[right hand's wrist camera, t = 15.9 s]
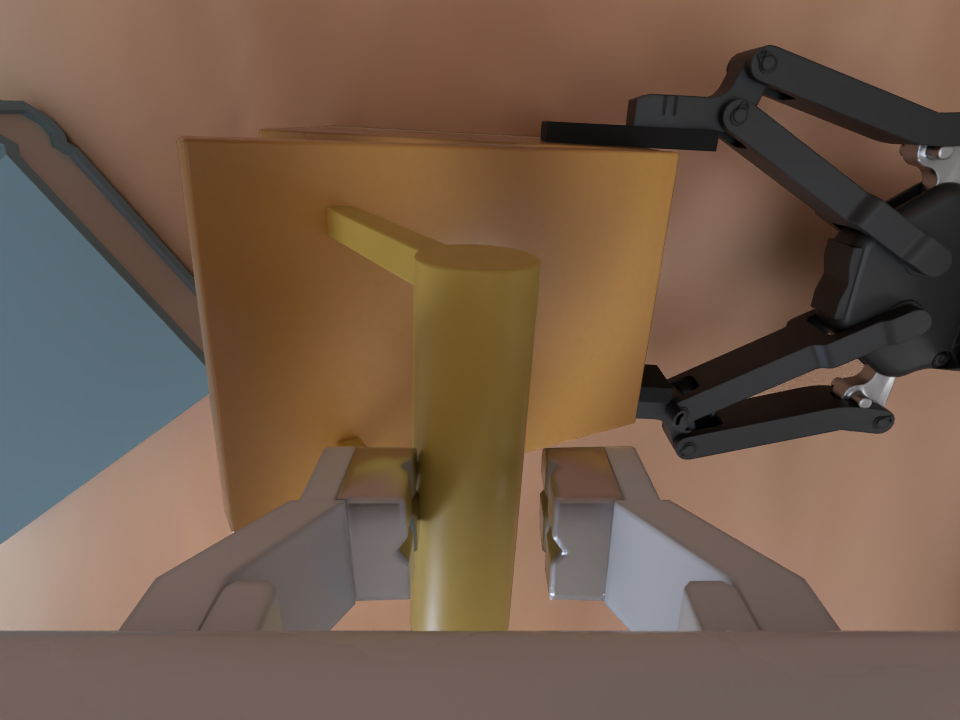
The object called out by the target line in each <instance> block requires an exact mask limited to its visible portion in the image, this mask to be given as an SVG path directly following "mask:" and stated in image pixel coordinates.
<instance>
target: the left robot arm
mask: <svg viewBox="0 0 960 720" xmlns="http://www.w3.org/2000/svg"><path fill="white" fill-rule="evenodd" d="M726 71H727V74H726V76H725V78H724V80H723V82H722V84H721V86H720V87H719V89H718V90H717V91H716V92H715V93H714V94H712V95H711V96H709V97H699V96H680V95H661V94H648V95H642V96H639V97H636V98H634V99H631V100H629V104H628V112H627V120H626V125H607V124H588V123H568V122H549V121H542V127H541V140H542V141H544V142H551V143H570V144H588V145H607V146H625V147H643V148H661V149H680V150H699V151H716V148H717V143H718V138H719V139H721V140H722V141H723V142H725V143H726V144H727V145H728V146H730V147H731V148H732V149H734V150H735V151H736V152H738V153H739V154H740V155H742V156H743V157H744V158H746V159H747V160H748V161H750V162H751V163H752V164H754V165H755V166H756V167H758V168H759V169H760V170H762V171H763V172H764V173H766V174H767V175H768V176H770V177H771V178H772V179H774V180H775V181H776V182H778V183H779V184H780V185H782V186H783V187H784V188H786V189H787V190H788V191H790V192H791V193H792V194H794V195H795V196H796V197H798V198H799V199H800V200H801V201H803V202H804V203H805V204H807V205H808V206H809V207H811V208H812V209H813V210H814V211H815V213H816V214H817V215H818V216H819V217H820V218H822V219H823V220H824V221H826V222H827V223H828V224H830V225H831V226H832V227H834V228H835V229H836V230H838V231H839V232H838V234H837V235H836V237H835V238H834V239H828V242H827V246H826V250H825V254H824V274H823V276H822V278H821V280H820V282H819V283H818V285H817V287H816V289H815V292H814V295H813V299H812V303H811V306H812V307H813V308H815V309H813V310H811V311H809V312H806V313H804V314H802V315H800V316H797V317H795V318H793V319H791V320H790V321H788V322H787V325H786V327H784V328H783V329H780V330H778V331H776V332H774V333H771V334H769V335H767V336H765V337H762V338H760V339H758V340H756V341H753V342H751V343H749V344H746V345H744V346H742V347H740V348H737V349H735V350H733V351H731V352H728V353H726V354H724V355H721V356H719V357H717V358H715V359H712V360H710V361H708V362H706V363H703V364H701V365H699V366H697V367H694V368H692V369H690V370H687V371H685V372H683V373H681V374H678V375H676V376H674V377H672V378H669V379H666V378H665V376H664V375H663V374H662V372H661V371H660V369H659V368H658V366H657V365H644V371H643V377H642V383H641V389H640V395H639V401H638V407H637V413H636V418H643V419H658V420H661V421H663V422H662V428H663V430H664V432H665V434H666V436H667V437H668V439H669V441H670V443H671V444H672V446H673V448H674V450H675V451H676V453H677V455H678V456H679V457H680V458H682V459H695V458H700V457H705V456H710V455H715V454H720V453H725V452H730V451H735V450H740V449H746V448H751V447H756V446H761V445H766V444H771V443H776V442H781V441H786V440H791V439H797V438H802V437H807V436H812V435H817V434H822V433H827V432H832V431H837V430H847V431H857V432H866V433H875V434H878V433H884V432H886V431H888V430H889V429H890V428H891V427H892V426H893V424H894V420H895V418H894V415H893V414H892V413H891V412H890V411H889V410H887V409H886V408H885V407H884V406H885V404H886V401H887V399H888V396H889V394H890V391H891V389H892V386H893V384H894V381H895V379H896V377H901V376H905V375H907V374H910V373H912V372H915V371H918V370H921V369H927V368H933V369H942V370H953V371H960V112H954V113H938V112H936V111H933V110H931V109H928V108H926V107H923V106H921V105H919V104H916V103H914V102H911V101H909V100H906V99H904V98H901V97H899V96H897V95H894V94H892V93H889V92H887V91H884V90H882V89H879V88H877V87H875V86H872V85H870V84H867V83H865V82H862V81H860V80H857V79H855V78H853V77H850V76H848V75H845V74H843V73H840V72H838V71H835V70H833V69H831V68H828V67H826V66H823V65H821V64H818V63H816V62H813V61H811V60H809V59H806V58H804V57H801V56H799V55H796V54H794V53H791V52H789V51H787V50H784V49H782V48H779V47H777V46H772V45H767V46H764V47H759V48H755V49H752V50H748V51H744V52H742V53H738V54H736V55H735V56H733V57H732V58H731V60H730V61H729V63H728V65H727V69H726ZM762 95H763V96H765V97H768V98H770V99H773V100H775V101H778V102H780V103H783V104H785V105H788V106H790V107H793V108H795V109H798V110H800V111H803V112H805V113H808V114H810V115H813V116H815V117H818V118H820V119H823V120H825V121H828V122H830V123H833V124H835V125H838V126H840V127H843V128H845V129H848V130H851V131H853V132H856V133H858V134H861V135H863V136H866V137H868V138H871V139H874V140H877V141H880V142H884V143H890V144H902V146H901V147H900V152H899V153H900V155H901V156H903V159H904V160H905V162H906V163H908V164H909V165H913V166H916V167H918V168H919V169H920V171H921V172H922V182H920V183H917V184H915V185H913V186H912V187H910V188H908V189H906V190H905V191H903V192H901V193H899V194H898V195H896V196H894V197H892V198H891V199H889V200H887V201H885V202H884V201H883V200H881V199H880V198H878V197H876V196H873V195H871V194H869V193H868V192H866V191H865V190H864V189H862V188H861V187H860V186H858V185H857V184H856V183H855V182H853V181H852V180H851V179H849V178H848V177H847V176H846V175H844V174H843V173H842V172H840V171H839V170H838V169H837V168H835V167H834V166H833V165H831V164H830V163H829V162H828V161H826V160H825V159H824V158H822V157H821V156H820V155H819V154H817V153H816V152H815V151H813V150H812V149H811V148H810V147H808V146H807V145H806V144H804V143H803V142H802V141H801V140H799V139H798V138H797V137H795V136H794V135H793V134H792V133H790V132H789V131H788V130H786V129H785V128H784V127H783V126H781V125H780V124H779V123H777V122H776V121H775V120H774V119H772V118H771V117H770V116H769V115H767V114H766V113H765V112H763V111H762V110H761V109H760V108H758V107H757V104H758V102H759V100H760V99H761V97H762ZM828 333H830V334H831V335H830V334H828ZM857 358H858V359H859V360H860V361H861V362H862V363H863V364H864V367H863V369H862V371H861V372H860V373H858V374H857V375H855V376H852V377H846V378H841V377H837V378H835V379H833V380H832V382H831V386H828V385H817V386H808V387H802V388H797V389H792V390H787V391H782V392H777V393H772V394H767V395H762V396H757V397H753V398H749V397H751V396H754V395H756V394H758V393H761V392H763V391H765V390H768V389H770V388H772V387H775V386H777V385H779V384H782V383H784V382H787V381H789V380H791V379H794V378H796V377H798V376H801V375H803V374H805V373H808V372H810V371H813V370H815V369H818V368H835V367H838V366H841V365H843V364H846V363H848V362H850V361H853V360H855V359H857ZM746 398H748V399H746Z"/></svg>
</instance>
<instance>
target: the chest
mask: <svg viewBox="0 0 960 720" xmlns="http://www.w3.org/2000/svg"><path fill="white" fill-rule="evenodd" d="M259 134H260V138H266V139H299V140H332V141H364V142H397V143H430V144H463V145H496V146H529V147H562V148H594V149H627V150H654V149H648V148H643V147H625V146H607V145H588V144H570V143H551V142H544V141H542V140H541V137H530V136H512V135H493V134H475V133H456V132H438V131H419V130H401V129H382V128H364V127H345V126H323V127H297V128H271V129H260V131H259ZM656 151H659V150H656Z"/></svg>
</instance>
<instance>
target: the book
mask: <svg viewBox="0 0 960 720" xmlns="http://www.w3.org/2000/svg"><path fill="white" fill-rule="evenodd" d="M208 394H209V387H208V379H207V372H206V364H205V356H204V349H203V341H202V333H201V326H200V318H199V310H198V302H197V295H196V287H195V279H194V277H193V276H192V275H191V274H190V272H189V271H188V270H187V269H186V268H185V267H184V266H183V265H182V264H181V262H180V261H179V260H178V259H177V258H176V257H175V256H174V255H173V254H172V252H171V251H170V250H169V249H168V248H167V247H166V246H165V245H164V243H163V242H162V241H161V240H160V239H159V238H158V237H157V236H156V235H155V233H154V232H153V231H152V230H151V229H150V228H149V227H148V226H147V224H146V223H145V222H144V221H143V220H142V219H141V218H140V217H139V216H138V214H137V213H136V212H135V211H134V210H133V209H132V208H131V207H130V205H129V204H128V203H127V202H126V201H125V200H124V199H123V198H122V197H121V195H120V194H119V193H118V192H117V191H116V190H115V189H114V188H113V187H112V185H111V184H110V183H109V182H108V181H107V180H106V179H105V178H104V176H103V175H102V174H101V173H100V172H99V171H98V170H97V169H96V168H95V166H94V165H93V164H92V163H91V162H90V161H89V160H88V159H87V157H86V156H85V155H84V154H83V153H82V152H81V151H80V150H79V149H78V148H76V147H75V146H73V145H72V144H70V143H68V142H67V139H66V135H65V133H64V132H63V131H62V130H61V128H60V127H59V126H58V125H57V124H56V123H55V122H54V121H53V120H52V119H51V118H50V117H48V116H47V115H45V114H43V113H42V112H40V111H39V110H37V109H35V108H34V107H32V106H31V105H29V104H27V103H26V102H24V101H2V100H0V544H1V543H3V542H4V541H6V540H7V539H8V538H10V537H11V536H13V535H14V534H15V533H17V532H18V531H19V530H21V529H22V528H24V527H25V526H26V525H28V524H29V523H31V522H32V521H33V520H35V519H36V518H37V517H39V516H40V515H42V514H43V513H44V512H46V511H47V510H48V509H50V508H51V507H53V506H54V505H55V504H57V503H58V502H60V501H61V500H62V499H64V498H65V497H66V496H68V495H69V494H71V493H72V492H73V491H75V490H76V489H78V488H79V487H80V486H82V485H83V484H84V483H86V482H87V481H89V480H90V479H91V478H93V477H94V476H96V475H97V474H98V473H100V472H101V471H102V470H104V469H105V468H107V467H108V466H109V465H111V464H112V463H114V462H115V461H116V460H118V459H119V458H120V457H122V456H123V455H125V454H126V453H127V452H129V451H130V450H131V449H133V448H134V447H136V446H137V445H138V444H140V443H141V442H143V441H144V440H145V439H147V438H148V437H149V436H151V435H152V434H154V433H155V432H156V431H158V430H159V429H161V428H162V427H163V426H165V425H166V424H167V423H169V422H170V421H172V420H173V419H174V418H176V417H177V416H179V415H180V414H181V413H183V412H184V411H185V410H187V409H188V408H190V407H191V406H192V405H194V404H195V403H197V402H198V401H199V400H201V399H202V398H203V397H205V396H206V395H208Z"/></svg>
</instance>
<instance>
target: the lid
mask: <svg viewBox="0 0 960 720" xmlns="http://www.w3.org/2000/svg"><path fill="white" fill-rule="evenodd" d="M176 141H177V149H178V156H179V164H180V172H181V179H182V187H183V195H184V202H185V210H186V218H187V225H188V233H189V241H190V249H191V256H192V264H193V272H194V279H195V287H196V295H197V302H198V310H199V318H200V326H201V333H202V341H203V349H204V356H205V364H206V372H207V379H208V387H209V395H210V402H211V410H212V418H213V426H214V433H215V441H216V449H217V456H218V464H219V472H220V479H221V487H222V495H223V502H224V510H225V513H226V516H227V519H228V523H229V526H230V529H231V531H232V532H233V533H235V532H236V531H238V530H240V529H242V528H243V527H245V526H247V525H248V524H250V523H252V522H254V521H255V520H257V519H259V518H261V517H262V516H264V515H266V514H267V513H269V512H271V511H273V510H274V509H276V508H278V507H279V506H281V505H283V504H285V503H286V502H288V501H290V500H300V498H301V496H302V494H303V492H304V489H305V487H306V485H307V483H308V481H309V479H310V477H311V475H312V473H313V471H314V469H315V467H316V465H317V463H318V460H319V458H320V456H321V454H322V452H323V450H324V449H325V448H327V447H339V446H356V447H400V448H416V449H417V454H418V470H419V472H418V478H417V485H416V490H417V491H418V494H419V499H420V530H419V542H418V549H417V551H415V552H414V565H415V570H414V576H413V583H412V589H411V630H412V631H508V627H509V617H510V606H511V594H512V583H513V572H514V561H515V550H516V538H517V527H518V516H519V505H520V494H521V483H522V471H523V460H524V453H527V452H530V451H534V450H538V449H541V448H545V447H549V446H552V445H556V444H559V443H563V442H567V441H570V440H574V439H578V438H581V437H585V436H588V435H592V434H596V433H599V432H603V431H607V430H610V429H614V428H618V427H621V426H625V425H628V424H632V423H634V422H635V420H636V413H637V407H638V401H639V395H640V389H641V383H642V377H643V371H644V365H645V359H646V353H647V347H648V341H649V335H650V329H651V323H652V317H653V310H654V304H655V298H656V292H657V286H658V280H659V274H660V268H661V262H662V256H663V250H664V244H665V238H666V232H667V226H668V220H669V214H670V207H671V201H672V195H673V189H674V183H675V177H676V171H677V165H678V159H679V154H678V153H677V152H667V151H656V150H627V149H594V148H562V147H529V146H496V145H463V144H430V143H397V142H364V141H332V140H299V139H266V138H233V137H200V136H179V137H177V140H176Z"/></svg>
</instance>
